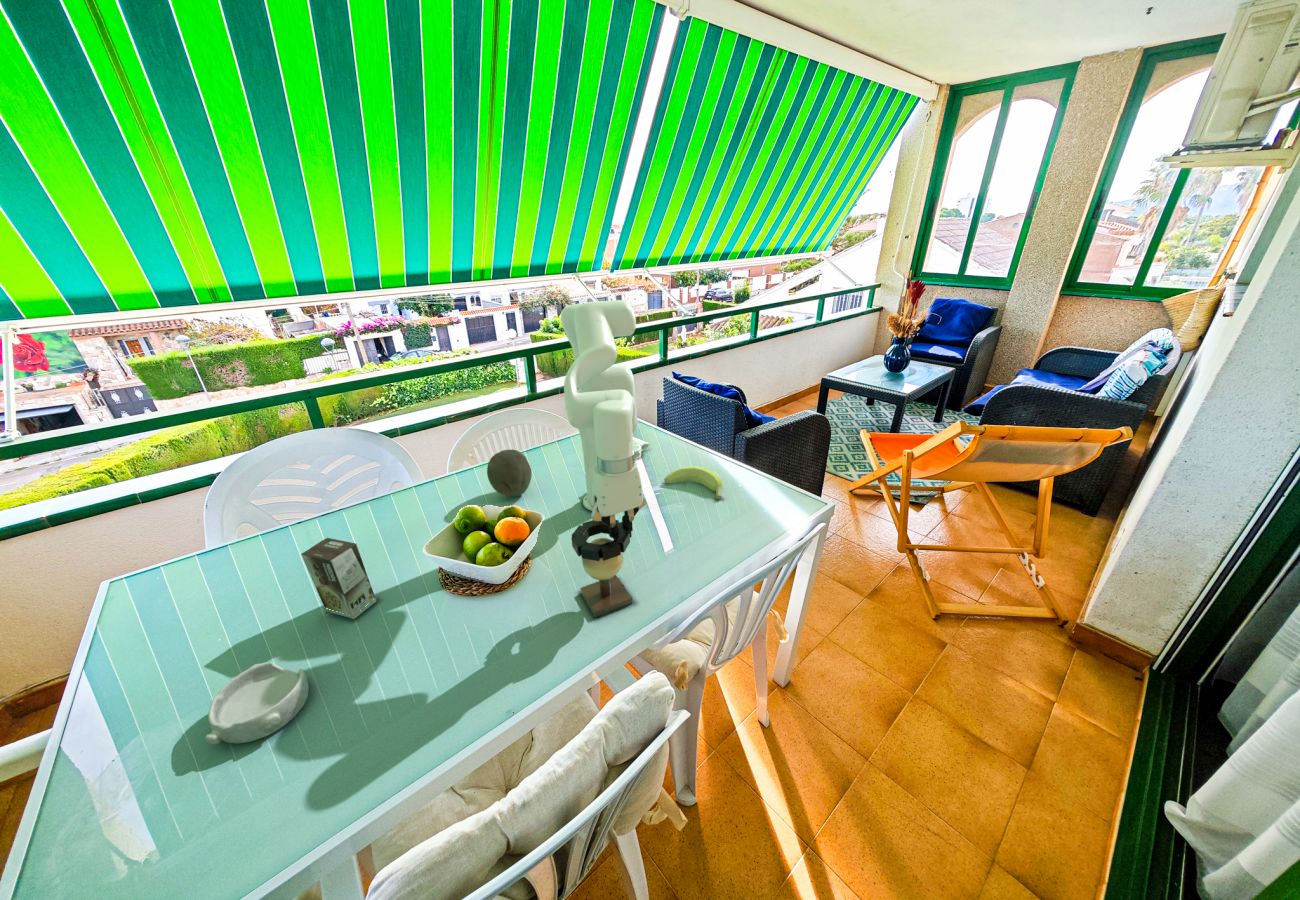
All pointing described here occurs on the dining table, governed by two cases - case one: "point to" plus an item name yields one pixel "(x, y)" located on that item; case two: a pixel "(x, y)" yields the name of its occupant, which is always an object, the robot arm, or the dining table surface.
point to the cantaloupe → (509, 473)
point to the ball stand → (604, 584)
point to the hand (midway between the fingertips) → (620, 536)
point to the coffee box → (339, 577)
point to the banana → (696, 477)
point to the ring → (597, 550)
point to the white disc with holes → (640, 445)
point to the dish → (256, 703)
